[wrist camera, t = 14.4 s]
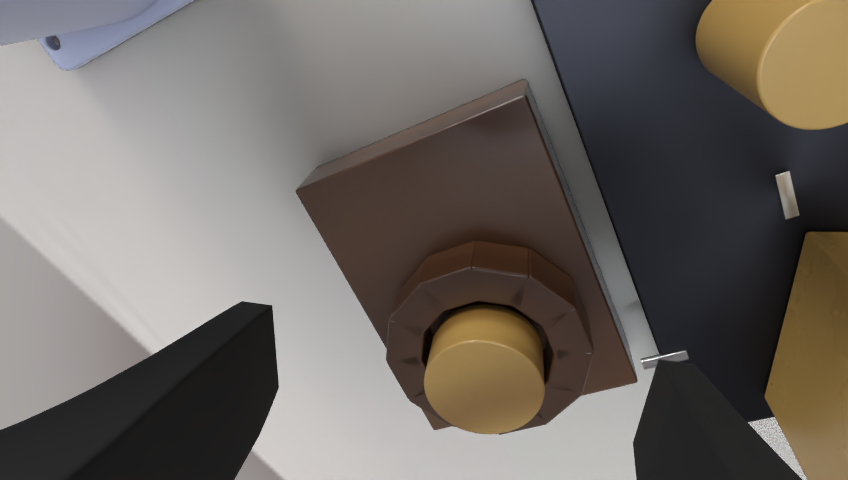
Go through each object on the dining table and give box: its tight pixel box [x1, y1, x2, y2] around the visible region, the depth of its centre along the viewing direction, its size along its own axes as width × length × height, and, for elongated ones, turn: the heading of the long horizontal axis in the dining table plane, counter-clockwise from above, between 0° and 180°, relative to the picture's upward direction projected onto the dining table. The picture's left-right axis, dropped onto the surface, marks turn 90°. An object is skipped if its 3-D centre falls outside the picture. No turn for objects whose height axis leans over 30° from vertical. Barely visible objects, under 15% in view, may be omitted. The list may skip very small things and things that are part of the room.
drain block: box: [296, 79, 637, 435], centre depth 20 cm, size 11×8×4 cm
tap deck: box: [531, 0, 848, 422], centre depth 17 cm, size 18×10×3 cm, turn 26°
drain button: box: [424, 304, 545, 434], centre depth 18 cm, size 4×4×2 cm
